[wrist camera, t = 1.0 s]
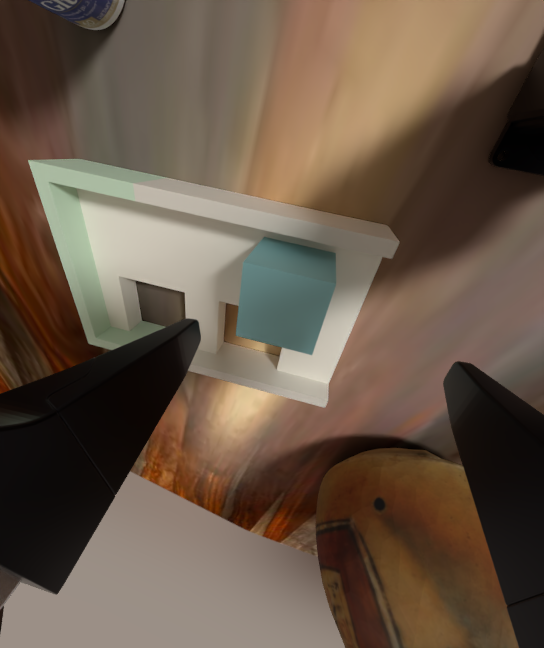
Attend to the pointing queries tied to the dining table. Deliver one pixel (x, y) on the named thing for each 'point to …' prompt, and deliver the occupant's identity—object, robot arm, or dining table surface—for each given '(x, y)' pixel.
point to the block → (285, 294)
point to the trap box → (198, 264)
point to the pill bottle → (85, 11)
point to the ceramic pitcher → (407, 555)
